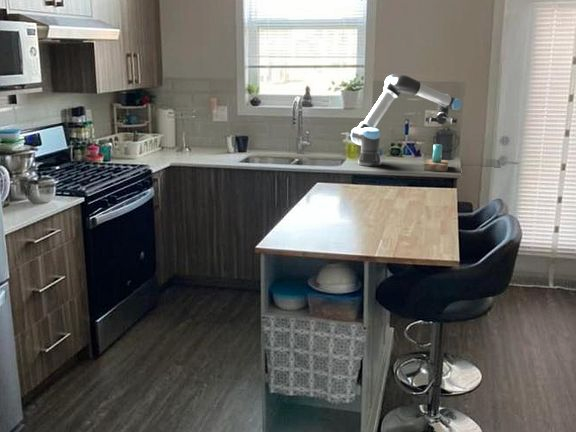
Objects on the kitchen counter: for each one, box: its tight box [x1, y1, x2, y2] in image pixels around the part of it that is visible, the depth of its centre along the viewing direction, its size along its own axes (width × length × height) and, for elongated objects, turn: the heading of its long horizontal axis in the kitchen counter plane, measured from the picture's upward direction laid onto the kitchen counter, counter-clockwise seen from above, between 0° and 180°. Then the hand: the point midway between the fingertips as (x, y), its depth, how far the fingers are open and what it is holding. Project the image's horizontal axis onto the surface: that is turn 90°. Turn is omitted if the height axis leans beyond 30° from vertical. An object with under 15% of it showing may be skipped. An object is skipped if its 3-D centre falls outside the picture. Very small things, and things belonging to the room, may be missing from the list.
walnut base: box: [423, 158, 449, 172], centre depth 405 cm, size 14×18×4 cm
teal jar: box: [431, 143, 443, 163], centre depth 403 cm, size 6×6×11 cm
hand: (440, 121), depth 414 cm, fingers open, 13 cm apart
